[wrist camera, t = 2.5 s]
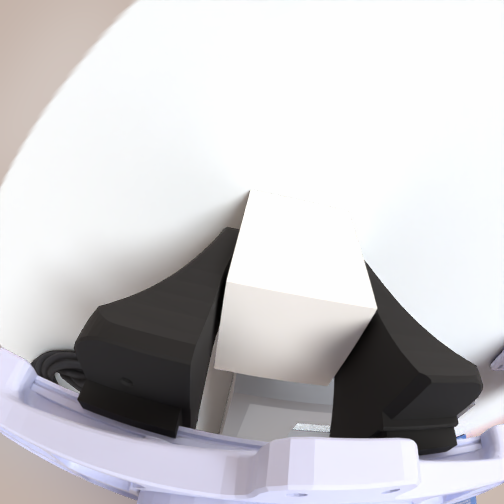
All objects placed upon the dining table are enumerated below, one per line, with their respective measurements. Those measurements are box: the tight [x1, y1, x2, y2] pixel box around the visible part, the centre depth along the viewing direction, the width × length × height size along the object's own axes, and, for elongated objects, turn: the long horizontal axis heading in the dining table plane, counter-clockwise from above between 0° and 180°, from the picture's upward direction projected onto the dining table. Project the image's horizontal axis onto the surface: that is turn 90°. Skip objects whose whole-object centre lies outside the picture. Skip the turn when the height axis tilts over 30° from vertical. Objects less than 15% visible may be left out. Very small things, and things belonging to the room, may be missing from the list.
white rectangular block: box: [214, 190, 377, 386], centre depth 11 cm, size 4×4×6 cm
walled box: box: [219, 373, 475, 442], centre depth 21 cm, size 16×18×4 cm
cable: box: [31, 351, 198, 421], centre depth 23 cm, size 17×14×4 cm
